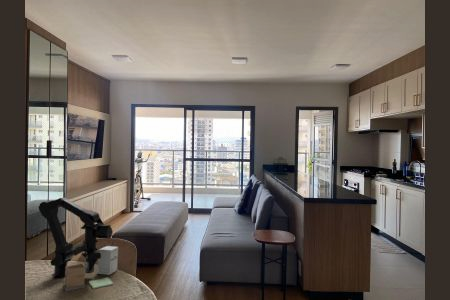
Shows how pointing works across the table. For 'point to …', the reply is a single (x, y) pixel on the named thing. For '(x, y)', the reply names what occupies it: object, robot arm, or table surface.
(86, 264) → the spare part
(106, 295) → the table surface
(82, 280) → the tan box
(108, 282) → the sage mat
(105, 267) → the supplement box
